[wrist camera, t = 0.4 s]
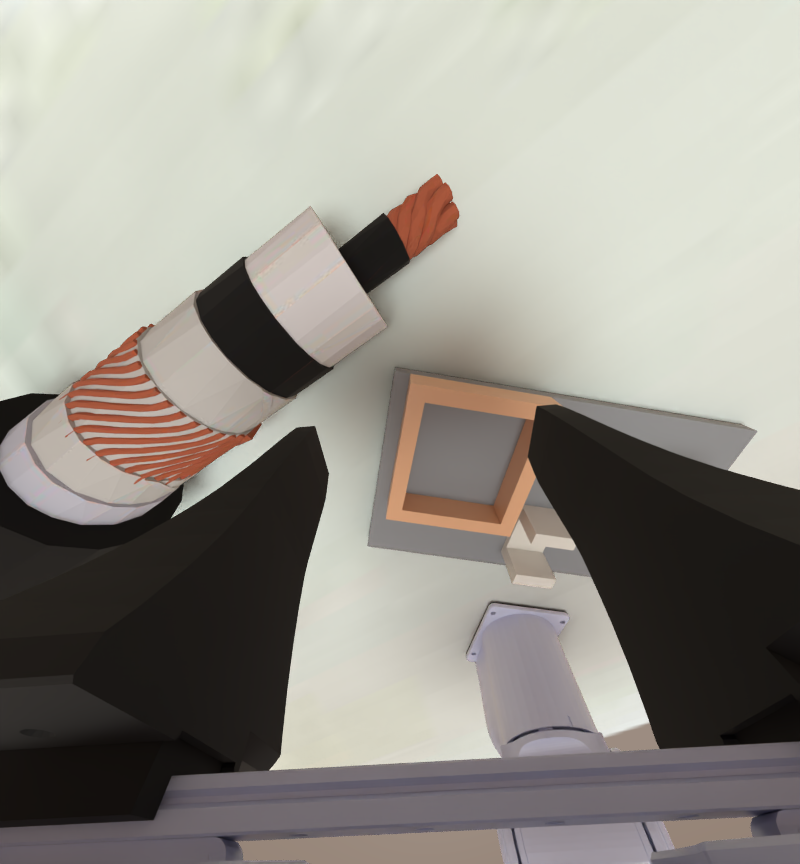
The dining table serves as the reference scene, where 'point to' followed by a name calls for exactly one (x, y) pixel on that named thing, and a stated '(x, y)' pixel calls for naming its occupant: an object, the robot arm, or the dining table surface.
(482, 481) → the board
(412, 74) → the dining table surface
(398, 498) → the frame
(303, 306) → the cable
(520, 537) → the clip
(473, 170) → the dining table surface
